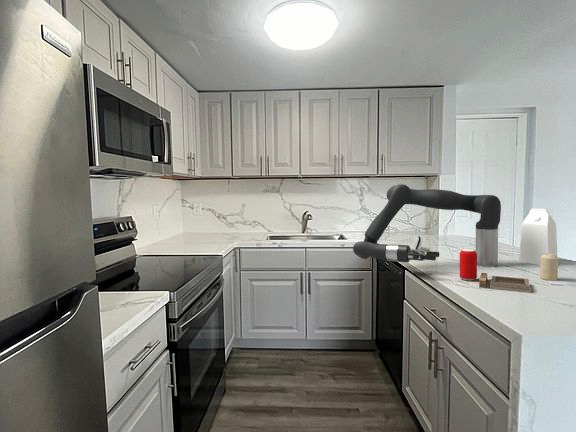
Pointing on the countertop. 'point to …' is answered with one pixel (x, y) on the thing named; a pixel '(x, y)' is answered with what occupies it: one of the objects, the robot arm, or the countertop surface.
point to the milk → (537, 236)
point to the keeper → (510, 284)
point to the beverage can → (468, 264)
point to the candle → (549, 267)
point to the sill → (483, 280)
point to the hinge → (415, 242)
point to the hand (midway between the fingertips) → (437, 256)
